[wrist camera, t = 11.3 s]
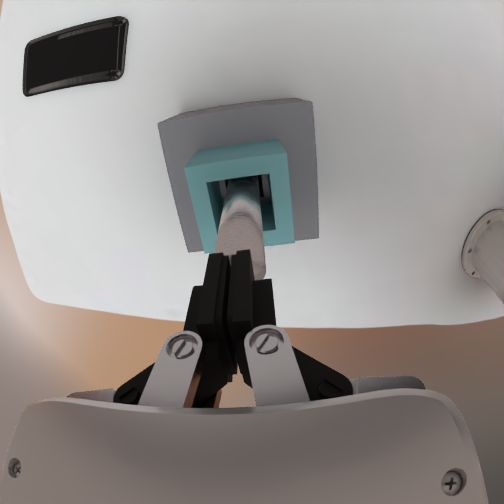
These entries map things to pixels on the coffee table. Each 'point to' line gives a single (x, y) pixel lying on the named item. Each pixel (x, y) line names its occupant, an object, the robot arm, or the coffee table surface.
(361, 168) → the coffee table surface
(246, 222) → the shaft
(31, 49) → the phone
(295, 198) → the bearing block
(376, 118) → the coffee table surface
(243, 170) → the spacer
